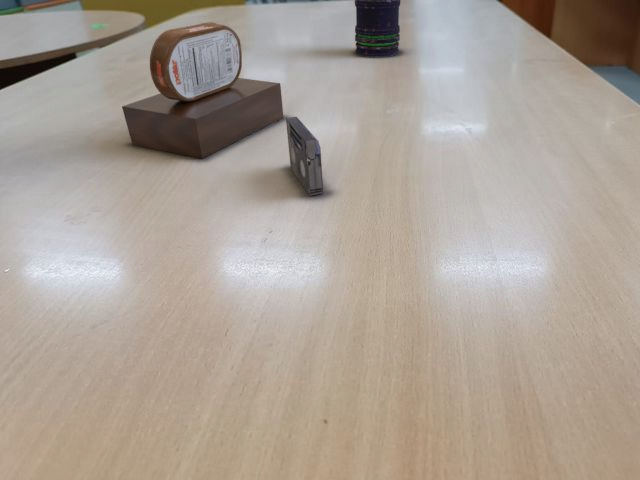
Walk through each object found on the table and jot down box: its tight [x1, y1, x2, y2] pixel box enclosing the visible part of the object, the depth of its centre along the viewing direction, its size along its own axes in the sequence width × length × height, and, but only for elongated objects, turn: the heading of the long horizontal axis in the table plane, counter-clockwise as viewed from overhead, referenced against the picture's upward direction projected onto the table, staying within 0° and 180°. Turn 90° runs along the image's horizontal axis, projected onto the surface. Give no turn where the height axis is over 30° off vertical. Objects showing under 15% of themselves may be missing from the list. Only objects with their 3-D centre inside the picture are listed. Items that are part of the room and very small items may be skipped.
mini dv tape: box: [285, 116, 324, 197], centre depth 56 cm, size 8×2×6 cm, turn 21°
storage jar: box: [354, 0, 402, 58], centre depth 110 cm, size 10×10×15 cm
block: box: [121, 77, 284, 160], centre depth 70 cm, size 12×18×5 cm, turn 153°
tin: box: [149, 21, 243, 102], centre depth 66 cm, size 15×3×8 cm, turn 153°
